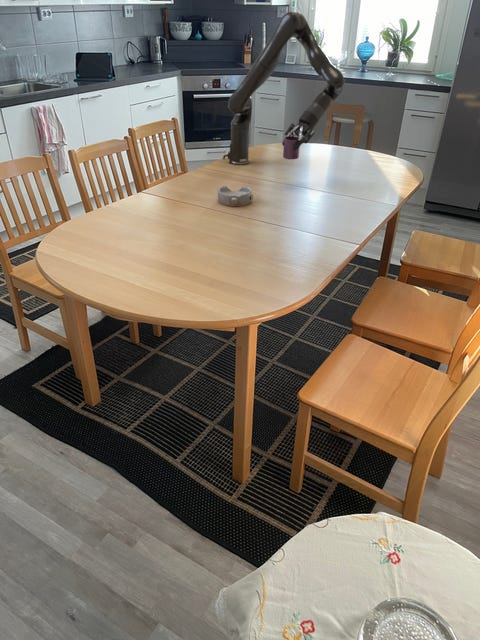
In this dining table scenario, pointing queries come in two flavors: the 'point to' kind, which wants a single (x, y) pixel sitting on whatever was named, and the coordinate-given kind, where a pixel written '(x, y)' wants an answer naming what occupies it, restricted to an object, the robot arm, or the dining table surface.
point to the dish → (235, 196)
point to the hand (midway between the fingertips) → (288, 147)
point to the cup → (290, 148)
